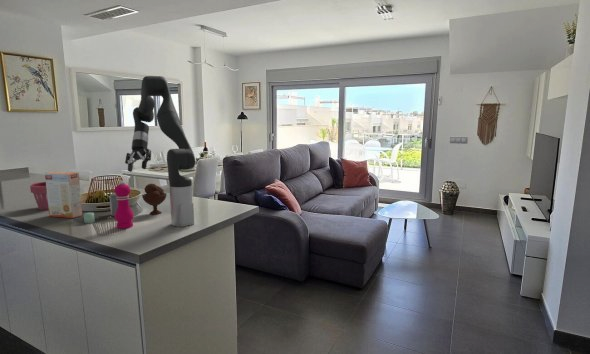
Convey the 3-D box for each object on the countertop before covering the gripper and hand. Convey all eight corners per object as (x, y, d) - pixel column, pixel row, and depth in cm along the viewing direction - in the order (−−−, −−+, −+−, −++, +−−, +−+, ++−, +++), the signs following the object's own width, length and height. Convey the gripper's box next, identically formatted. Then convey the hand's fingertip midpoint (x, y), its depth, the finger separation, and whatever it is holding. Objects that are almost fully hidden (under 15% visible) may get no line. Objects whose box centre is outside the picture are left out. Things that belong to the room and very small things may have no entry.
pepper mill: (129, 223, 151) (126, 178, 148) (137, 226, 147) (134, 180, 144) (112, 226, 146) (108, 180, 143) (120, 230, 141) (116, 182, 138)
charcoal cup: (128, 212, 168) (127, 192, 167) (121, 216, 162) (120, 195, 160) (116, 212, 168) (114, 192, 167) (108, 216, 162) (106, 195, 161)
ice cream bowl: (159, 217, 161) (157, 185, 159) (138, 215, 163) (136, 184, 161) (171, 211, 171) (170, 182, 169) (151, 210, 174) (150, 181, 171)
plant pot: (62, 209, 173) (59, 185, 171) (28, 212, 167) (25, 186, 165) (69, 203, 186) (66, 180, 184) (37, 205, 181) (35, 181, 179)
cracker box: (83, 215, 163) (79, 172, 159) (72, 218, 157) (67, 174, 154) (60, 213, 166) (56, 170, 163) (48, 216, 161) (44, 172, 157)
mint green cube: (96, 222, 152) (95, 213, 152) (86, 224, 149) (85, 215, 149) (93, 220, 155) (92, 211, 154) (83, 222, 152) (82, 213, 151)
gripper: (123, 141, 179) (119, 169, 174) (146, 136, 175) (142, 165, 170) (134, 147, 186) (130, 174, 180) (156, 142, 182) (153, 170, 176)
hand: (136, 169), depth 175 cm, fingers open, 8 cm apart
